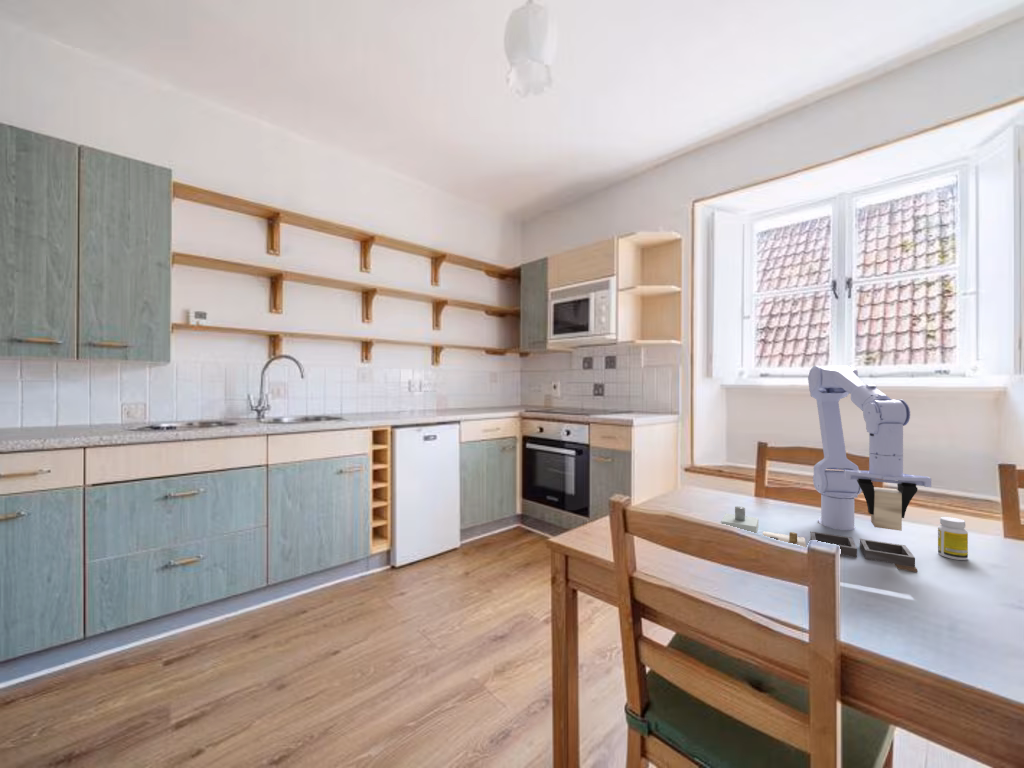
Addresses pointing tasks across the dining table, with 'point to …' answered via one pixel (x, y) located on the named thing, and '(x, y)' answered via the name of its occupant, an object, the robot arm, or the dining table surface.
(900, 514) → the maple peg
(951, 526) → the supplement bottle
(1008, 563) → the dining table surface
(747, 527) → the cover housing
